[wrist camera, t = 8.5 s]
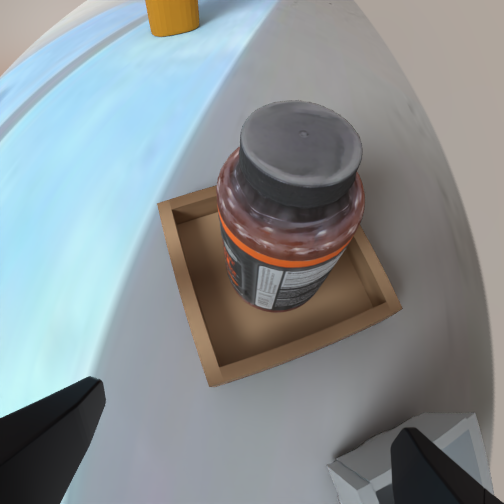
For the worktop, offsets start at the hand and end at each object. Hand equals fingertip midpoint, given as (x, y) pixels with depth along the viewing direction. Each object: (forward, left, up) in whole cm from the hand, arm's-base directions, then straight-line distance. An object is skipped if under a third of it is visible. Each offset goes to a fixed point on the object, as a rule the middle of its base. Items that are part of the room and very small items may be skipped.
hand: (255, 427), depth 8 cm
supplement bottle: (+7, -4, -9) cm, 13 cm away
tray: (+8, -4, -10) cm, 13 cm away
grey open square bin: (-8, -6, -10) cm, 14 cm away
